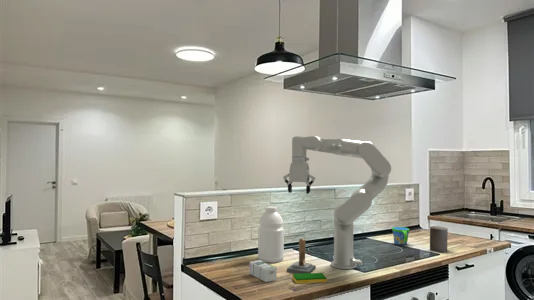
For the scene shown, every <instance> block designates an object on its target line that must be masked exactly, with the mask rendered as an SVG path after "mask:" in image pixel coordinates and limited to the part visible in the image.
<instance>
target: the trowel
mask: <svg viewBox="0 0 534 300" xmlns="http://www.w3.org/2000/svg"><path fill="white" fill-rule="evenodd" d="M291 265H292V267H295V268H301V269H309V268H310V267H312V265H313V263H309V262H306V238H299V240H298V261H295V262H294V263H292V264H291Z"/></svg>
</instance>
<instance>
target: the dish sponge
mask: <svg viewBox="0 0 534 300" xmlns="http://www.w3.org/2000/svg"><path fill="white" fill-rule="evenodd" d="M292 279H293V281H294V282H295V284H313V283H327V280H328V279H327V276H326V275H325V274H324V273H323V272H311V273H304V274H299V273H292Z"/></svg>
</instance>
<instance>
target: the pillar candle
mask: <svg viewBox="0 0 534 300" xmlns="http://www.w3.org/2000/svg"><path fill="white" fill-rule="evenodd" d="M448 231H449V230H448V227H446V226H439V225H431V226H430V227H429V250H430V251H432V252H435V253H447V252H448V234H449V233H448Z"/></svg>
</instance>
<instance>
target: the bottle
mask: <svg viewBox="0 0 534 300" xmlns="http://www.w3.org/2000/svg"><path fill="white" fill-rule="evenodd" d="M264 210H265V211H264V212H263V214H261V216H260V218H259V221H258V224H259V225H260V226H259V227H258V229H257V231H258V233H257V234H258V236H257V243H258V244H257V245H258V246H257V260H261V261H263V262H265V263H269V264H270V263H280V262H282V261H284V259H285V258H284V257H285V255H284V252H285V249H284V248H285V247H284V246H285V242H284V240H285V239H284V237H285V228H284V227H283V224H284V219H283V217H282V216H281V214H280V213H279V212H278V206H273V205H270V206H265V208H264Z"/></svg>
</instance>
